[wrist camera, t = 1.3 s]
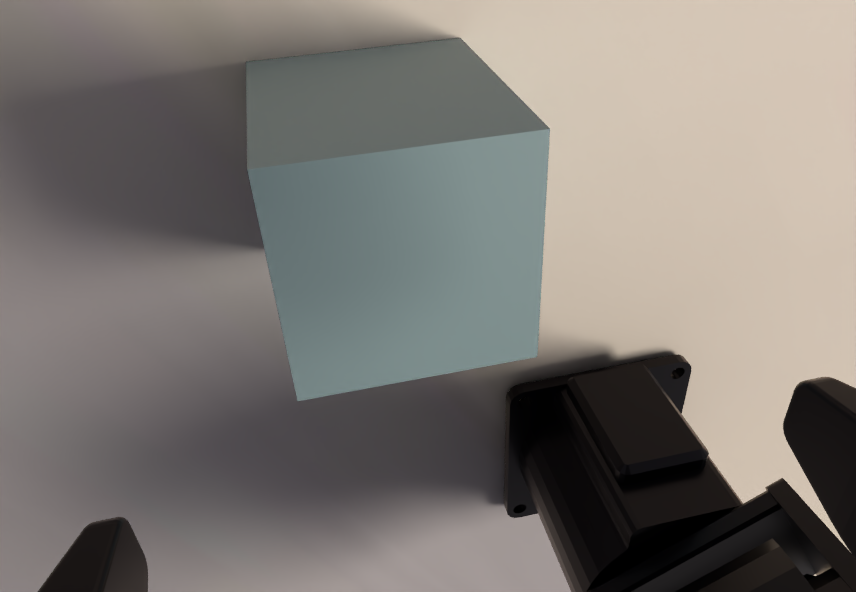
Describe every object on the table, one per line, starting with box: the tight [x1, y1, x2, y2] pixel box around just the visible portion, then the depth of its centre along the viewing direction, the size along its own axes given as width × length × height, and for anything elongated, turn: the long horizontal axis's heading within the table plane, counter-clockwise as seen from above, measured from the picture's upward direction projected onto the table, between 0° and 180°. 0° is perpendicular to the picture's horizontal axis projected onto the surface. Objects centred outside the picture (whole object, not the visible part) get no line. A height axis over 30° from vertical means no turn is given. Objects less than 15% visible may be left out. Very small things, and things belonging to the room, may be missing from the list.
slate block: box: [246, 38, 550, 401], centre depth 15 cm, size 5×5×6 cm
